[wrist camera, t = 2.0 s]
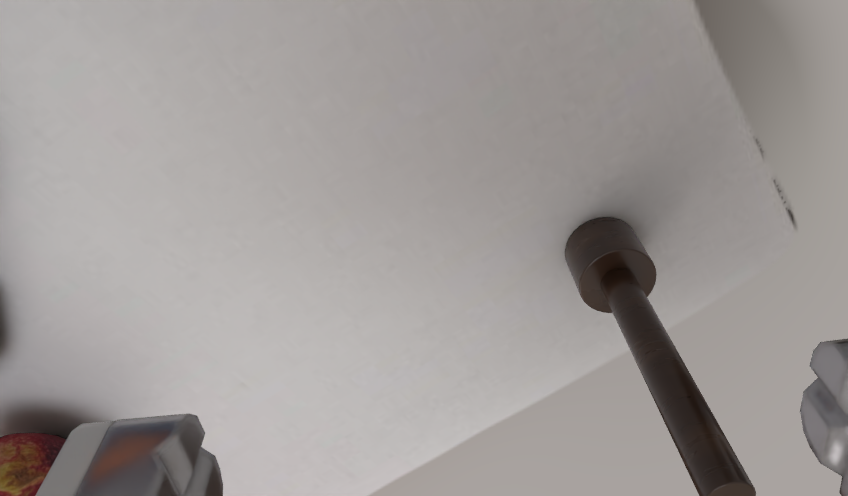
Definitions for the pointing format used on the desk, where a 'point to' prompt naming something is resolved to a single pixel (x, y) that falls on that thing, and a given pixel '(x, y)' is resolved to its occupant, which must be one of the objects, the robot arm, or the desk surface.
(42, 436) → the fruit
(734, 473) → the stirrer
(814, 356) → the robot arm
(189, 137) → the desk surface
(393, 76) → the desk surface
